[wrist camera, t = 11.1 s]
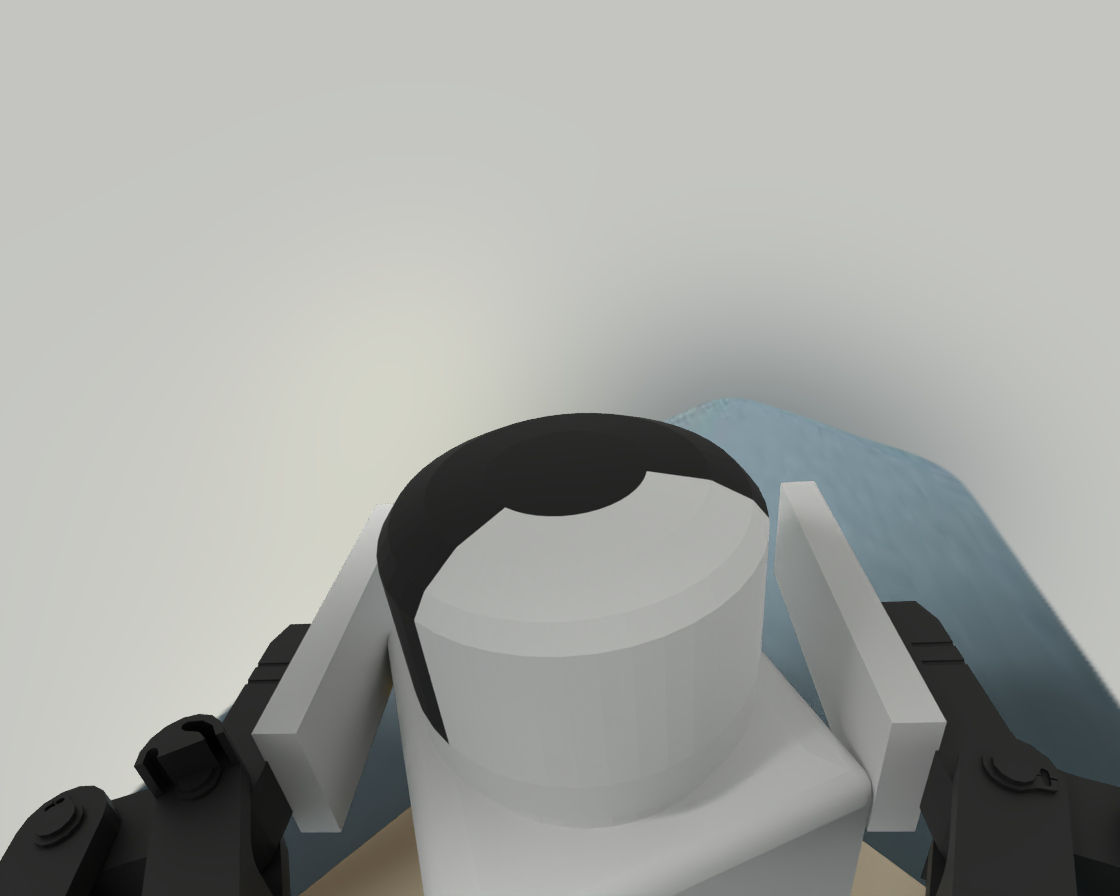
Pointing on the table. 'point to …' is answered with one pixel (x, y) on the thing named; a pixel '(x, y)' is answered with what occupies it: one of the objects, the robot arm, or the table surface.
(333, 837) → the table surface
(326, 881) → the oak board
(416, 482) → the medicine bottle
